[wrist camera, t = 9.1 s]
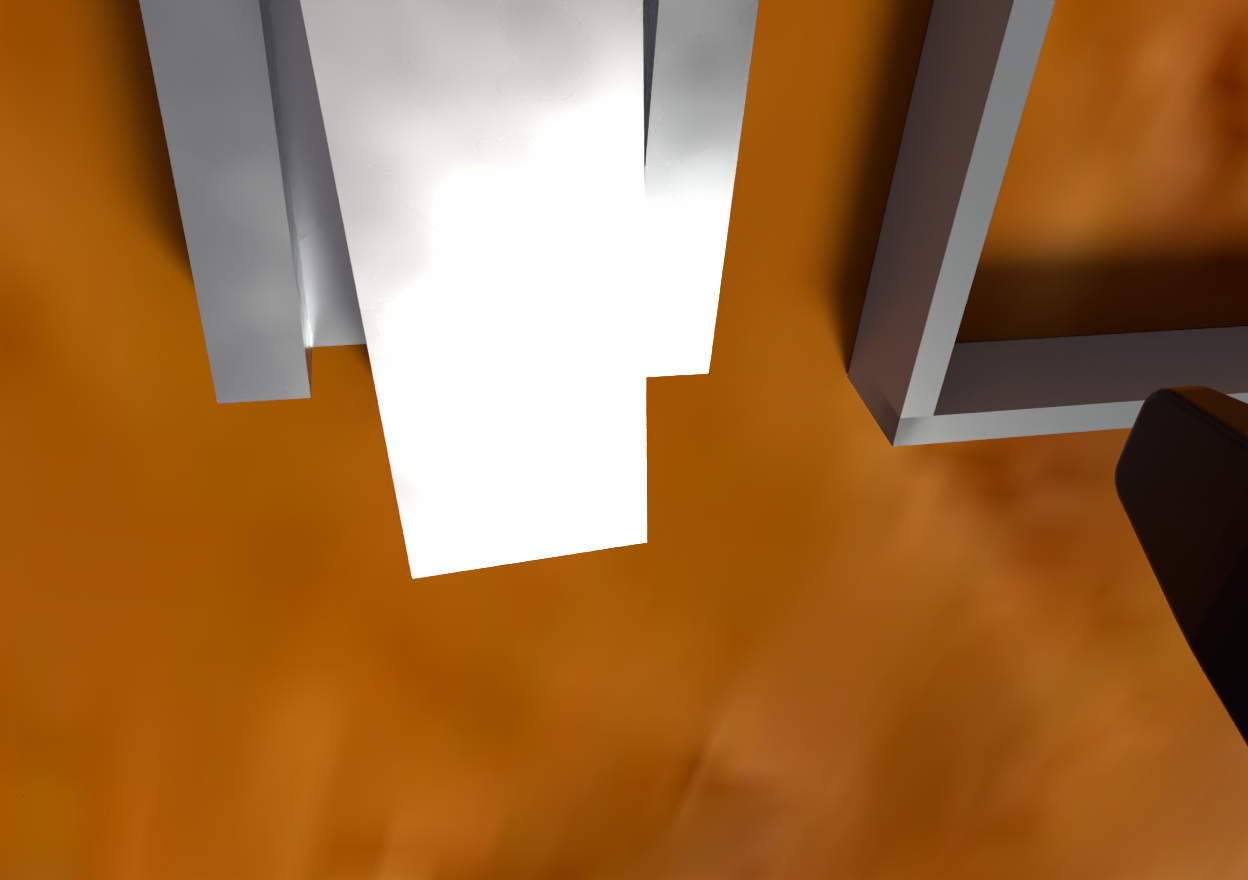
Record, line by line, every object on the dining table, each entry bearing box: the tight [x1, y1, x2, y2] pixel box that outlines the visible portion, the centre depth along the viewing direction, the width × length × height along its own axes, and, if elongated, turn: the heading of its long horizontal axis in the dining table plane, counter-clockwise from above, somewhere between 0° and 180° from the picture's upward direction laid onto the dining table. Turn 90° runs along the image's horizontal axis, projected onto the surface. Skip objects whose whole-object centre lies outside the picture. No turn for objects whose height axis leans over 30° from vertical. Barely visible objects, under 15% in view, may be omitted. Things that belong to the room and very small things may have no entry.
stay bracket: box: [139, 0, 759, 403], centre depth 16 cm, size 8×12×2 cm
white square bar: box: [300, 0, 646, 579], centre depth 15 cm, size 4×16×4 cm, turn 1°
